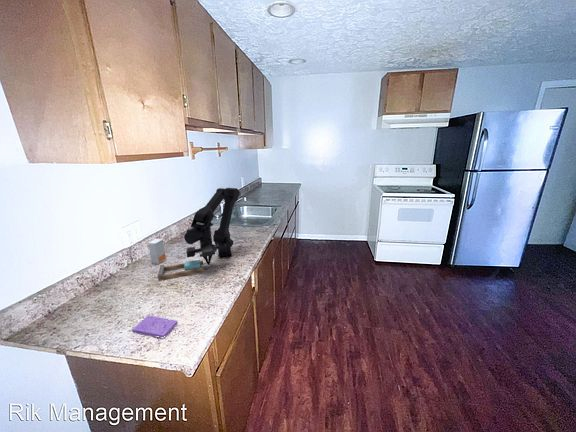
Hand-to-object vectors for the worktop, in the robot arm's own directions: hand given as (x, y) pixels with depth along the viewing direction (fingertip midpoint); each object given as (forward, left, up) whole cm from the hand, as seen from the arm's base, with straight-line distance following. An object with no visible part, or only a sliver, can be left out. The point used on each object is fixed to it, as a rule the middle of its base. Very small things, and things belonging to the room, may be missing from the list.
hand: (208, 264), depth 119 cm
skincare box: (+24, -16, -2) cm, 29 cm away
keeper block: (+7, 0, -2) cm, 8 cm away
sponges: (+20, +36, -2) cm, 41 cm away
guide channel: (+12, 0, -1) cm, 13 cm away
